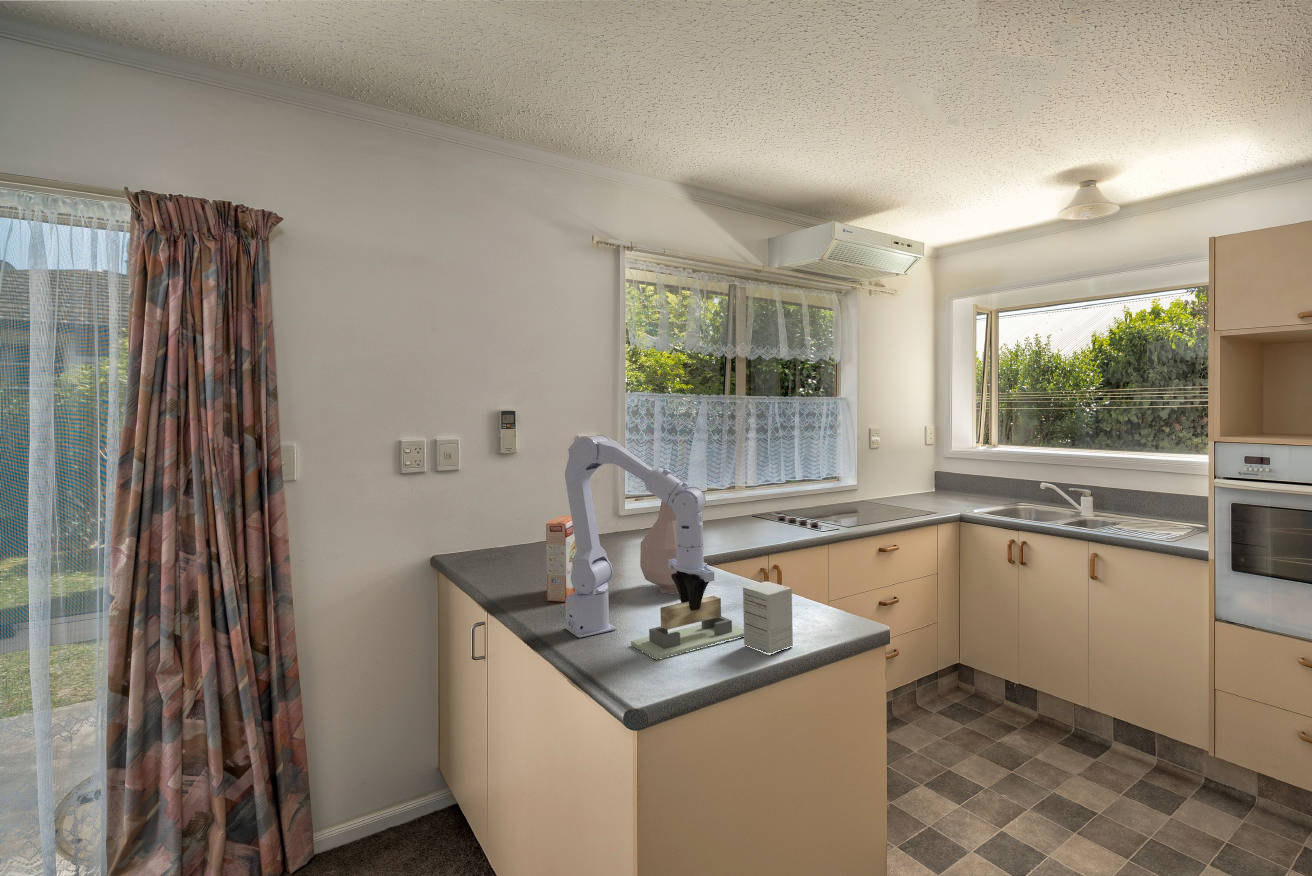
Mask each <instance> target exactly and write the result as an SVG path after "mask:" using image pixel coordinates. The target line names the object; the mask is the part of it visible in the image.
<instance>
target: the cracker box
mask: <svg viewBox="0 0 1312 876" xmlns="http://www.w3.org/2000/svg"><path fill="white" fill-rule="evenodd" d="M545 537H546V538H545V540H546V541H545V545H546V547H545V548H546V551H545V552H546V553H545V554H546V556H545V557H546V601H547V602H554V603H555V602H558V603H565V602H566V597H567V596H568V595H569V594H573V593H575V592H576V590H575V588H574V587H573V585H572V583H571V573H572V560H573V557H574V555H575V553H576V551H577V549H576V543H575V536H574V530H573V524H572V517H571V514H570V515H562V516H559V517H558V518H556V519H553V520H551V521H548V522H546V524H545Z"/></svg>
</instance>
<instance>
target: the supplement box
mask: <svg viewBox="0 0 1312 876" xmlns="http://www.w3.org/2000/svg"><path fill="white" fill-rule="evenodd" d="M742 596H743V597H742V600H743V601H742V603H743V604H742V606H743V607H742V608H743V629H744V638H743V644H744V645H747V646H750V647H752V648H755V649H758V650H761V651H763V652H766V653H773V652H775V651H778V650H782V649H784V648H787V647H790V646H793V645H794V642H793V641H794V639H793V638H794V637H793V634H794V633H793V590H792V587H789V586H786V585H781V584H778V583H774V582H772V581H762V582H758V583H755V584H751V585H748V586H743V588H742ZM793 647H794V646H793Z"/></svg>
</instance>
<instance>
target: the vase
mask: <svg viewBox="0 0 1312 876" xmlns="http://www.w3.org/2000/svg"><path fill="white" fill-rule="evenodd" d="M639 557H640V558H639V559H640V561H639V562H640V564H639V567H640V569H641V572H642V574H643V577H644V580H646V581H648V582H649V583H651V584H654V586H655V585H656V586H658V587H659V588H660V592H661V593H663V592H664V593H665V594H670V593H674V594H679V593H678V590H677V587H676V585H675V583H674V581H673V579H672V578H671V575H672V574H675V573H676V572H677V570H676V569H669V568H668V560H669V559H677V544H676V514H675V513H674V512H673V510H672V507H671V506H670V505H668V504H667V503H665V502H664V501H662V500H661V501H660V508H659V511H658V518H657V519H656V521H655V522H654V523H653V525H652V526H651V528H650V529H649V531H648V532H647V534H646V535H645V536H644V537H643V538H642V540H641V541H640V556H639Z"/></svg>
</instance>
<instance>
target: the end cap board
mask: <svg viewBox="0 0 1312 876" xmlns="http://www.w3.org/2000/svg"><path fill="white" fill-rule="evenodd" d="M648 632H649V633H648V636H647V637H641V638H638V639H637V638H636V639H633V640H631V641H630V646H631V645H632V646H631V647H633V648H634V647H635V649H636V648H637V650H638V649H639V650H641V651H643V652H644V653H646V654H648V655H650V656H651V657H653V658H654V659H656V660H657V659H660V658H665V657H667V656H671V655H675V654H680V653H684V652H686V651H690V650H693V649H697V648H701V647H705V646H708V645H711V644H715V643H717V642H721V641H725V640H729V639H734V638H738V637H743V636H744V628H741V627H739V626H737V625H735V624H733V621H732V619H729V618H727V617H725V616H722V615H721V617H717V618H713V619H709V620H705V621H701V624H697V625H692V626H688V627H684V628H681V629H676V630H672V631H669V629H668V630H667V629H665V628H663V627H661V625H660V626H658V627H657V626H656V627H652V628H649V629H648ZM639 650H638V651H639ZM641 651H640V652H641ZM643 652H642V653H643ZM644 653H643V654H644ZM646 654H645V655H646ZM684 654H685V653H684ZM648 655H647V656H648ZM680 655H681V654H680ZM651 657H650V658H651ZM654 659H653V660H654ZM665 659H666V658H665ZM656 660H655V661H656ZM657 661H658V660H657Z"/></svg>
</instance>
